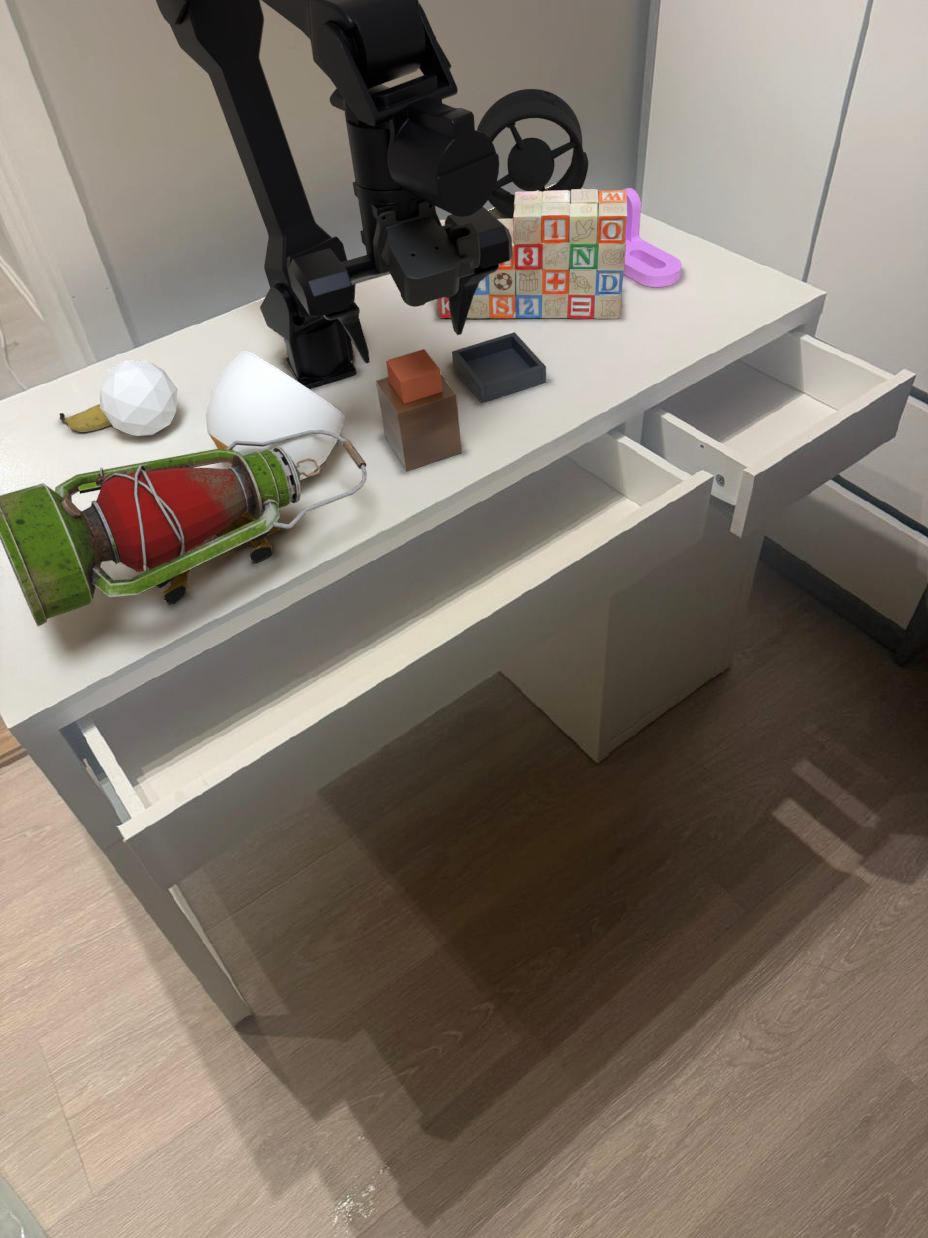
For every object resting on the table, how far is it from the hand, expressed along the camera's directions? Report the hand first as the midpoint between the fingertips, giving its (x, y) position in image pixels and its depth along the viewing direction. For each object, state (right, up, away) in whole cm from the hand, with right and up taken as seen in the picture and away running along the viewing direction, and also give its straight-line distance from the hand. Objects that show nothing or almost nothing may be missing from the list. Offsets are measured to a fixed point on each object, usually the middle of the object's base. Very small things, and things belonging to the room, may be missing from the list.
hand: (412, 346), depth 85 cm
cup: (-17, -11, +3) cm, 20 cm away
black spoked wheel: (+14, +30, +31) cm, 45 cm away
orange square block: (0, -3, +3) cm, 4 cm away
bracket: (+26, +19, +29) cm, 43 cm away
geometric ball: (-29, -5, +13) cm, 32 cm away
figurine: (-18, -21, -5) cm, 28 cm away
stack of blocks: (+13, +12, +24) cm, 30 cm away
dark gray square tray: (+9, +2, +15) cm, 18 cm away
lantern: (-30, -21, -15) cm, 40 cm away
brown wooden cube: (+1, -8, +8) cm, 11 cm away
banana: (-33, -4, +13) cm, 36 cm away
